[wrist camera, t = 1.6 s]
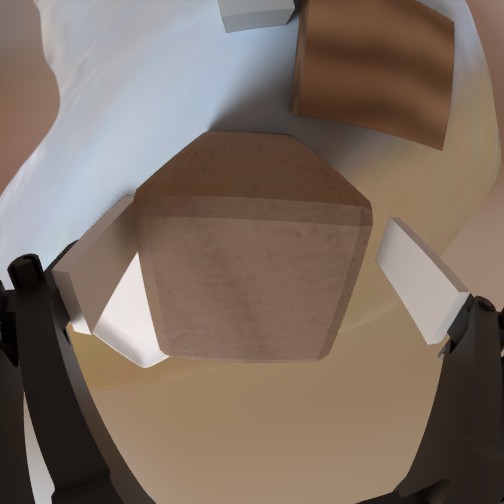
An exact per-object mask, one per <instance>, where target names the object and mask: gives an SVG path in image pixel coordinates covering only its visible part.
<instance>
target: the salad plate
mask: <svg viewBox="0 0 504 504" xmlns="http://www.w3.org/2000/svg"><path fill="white" fill-rule="evenodd" d="M92 333H93V334H94V335H96V336H97V337H99V338H100V339H101V340H103V341H104V342H105V343H107V344H108V345H109V346H111V347H112V348H114V349H115V350H116V351H118V352H119V353H121V354H122V355H124V356H125V357H127V358H128V359H130V360H131V361H133V362H134V363H136V364H137V365H139V366H141V367H144V368H147V367H150V366H152V365H154V364H156V363H158V362H160V361H162V360H164V359H166V358H168V357H170V356H168V355H165V354H164V353H163V352H162V351H161V350H160V349H159V345H158V342H157V338H156V334H155V330H154V326H153V322H152V318H151V314H150V310H149V306H148V301H147V297H146V292H145V288H144V283H143V278H142V273H141V267H140V262H139V256H138V252H137V254H136V255H135V257H134V259H133V260H132V262H131V264H130V265H129V267H128V269H127V270H126V272H125V274H124V275H123V277H122V279H121V280H120V282H119V284H118V286H117V287H116V289H115V291H114V293H113V295H112V296H111V298H110V300H109V302H108V304H107V306H106V307H105V309H104V311H103V313H102V315H101V317H100V319H99V321H98V323H97V325H96V326H95V328H94V330H93V332H92Z"/></svg>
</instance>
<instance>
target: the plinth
mask: <svg viewBox="0 0 504 504" xmlns="http://www.w3.org/2000/svg"><path fill="white" fill-rule="evenodd" d="M453 69H454V22H453V21H451V20H450V19H448V18H446V17H445V16H443V15H441V14H440V13H438V12H436V11H434V10H433V9H431V8H429V7H427V6H425V5H423V4H421V3H419V2H417V1H415V0H301V5H300V16H299V27H298V38H297V48H296V58H295V67H294V77H293V86H292V95H291V104H290V113H292V114H296V115H300V116H307V117H313V118H319V119H325V120H330V121H336V122H341V123H345V124H350V125H355V126H359V127H363V128H368V129H372V130H376V131H380V132H383V133H387V134H391V135H394V136H398V137H401V138H404V139H408V140H411V141H414V142H417V143H420V144H423V145H426V146H429V147H432V148H435V149H438V150H441V151H442V150H443V145H444V140H445V134H446V129H447V123H448V116H449V109H450V101H451V93H452V82H453Z"/></svg>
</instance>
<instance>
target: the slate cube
mask: <svg viewBox="0 0 504 504" xmlns="http://www.w3.org/2000/svg"><path fill="white" fill-rule="evenodd" d="M218 4H219V8H220V13H221V17H222V21H223V24H224V27H225V31H226V33H230V32H236V31H242V30H249V29H256V28H264V27H273V26H285V25H286V24H287V22H288V20H289V18H290V17H291V15H292V13H293V11H294V10H295V6H294V2H293V0H218Z"/></svg>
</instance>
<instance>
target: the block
mask: <svg viewBox="0 0 504 504" xmlns="http://www.w3.org/2000/svg"><path fill="white" fill-rule="evenodd" d="M132 217H133V224H134V231H135V238H136V244H137V250H138V256H139V262H140V267H141V273H142V278H143V283H144V288H145V292H146V297H147V301H148V306H149V310H150V314H151V318H152V322H153V326H154V330H155V334H156V338H157V342H158V345H159V349H160V350H161V351H162V352H163V353H164V354H165V355H168V356H170V357H172V358H178V359H189V360H201V361H217V362H239V363H303V362H316V361H318V360H321V359H323V358H325V357H326V356H327V355H328V354H329V352H330V350H331V348H332V345H333V342H334V340H335V338H336V335H337V333H338V330H339V328H340V325H341V322H342V320H343V317H344V314H345V312H346V309H347V306H348V303H349V301H350V298H351V295H352V292H353V289H354V286H355V283H356V280H357V277H358V274H359V271H360V268H361V264H362V261H363V258H364V255H365V251H366V248H367V244H368V241H369V237H370V234H371V230H372V226H373V216H372V207H371V203H370V201H369V200H368V199H367V198H365V197H364V196H363V195H362V194H361V193H360V192H359V191H358V190H357V189H356V188H355V187H354V186H353V185H351V184H350V183H349V182H348V181H347V180H346V179H345V178H344V177H343V176H341V175H340V174H339V173H338V172H337V171H336V170H334V169H333V168H332V167H331V166H330V165H329V164H327V163H326V162H325V161H324V160H323V159H321V158H320V157H319V156H318V155H317V154H315V153H314V152H313V151H312V150H310V149H309V148H308V147H307V146H305V145H304V144H303V143H302V142H300V141H299V140H298V139H296V138H295V137H293V136H291V135H283V134H272V133H258V132H239V131H208V132H205V133H203V134H201V135H200V136H199V137H198V138H196V139H195V140H194V141H192V142H191V143H190V144H189V145H187V146H186V147H185V148H184V149H182V150H181V151H180V152H179V153H177V154H176V155H175V156H174V157H173V158H171V159H170V160H169V161H168V162H167V163H166V164H164V165H163V166H162V167H161V168H160V169H159V170H158V171H156V172H155V173H154V174H153V175H152V176H151V177H150V178H149V179H147V180H146V181H145V182H144V183H143V184H142V185H141V186H140V187H139V188H138V189H137V190H136V193H135V196H134V200H133V203H132Z"/></svg>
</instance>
